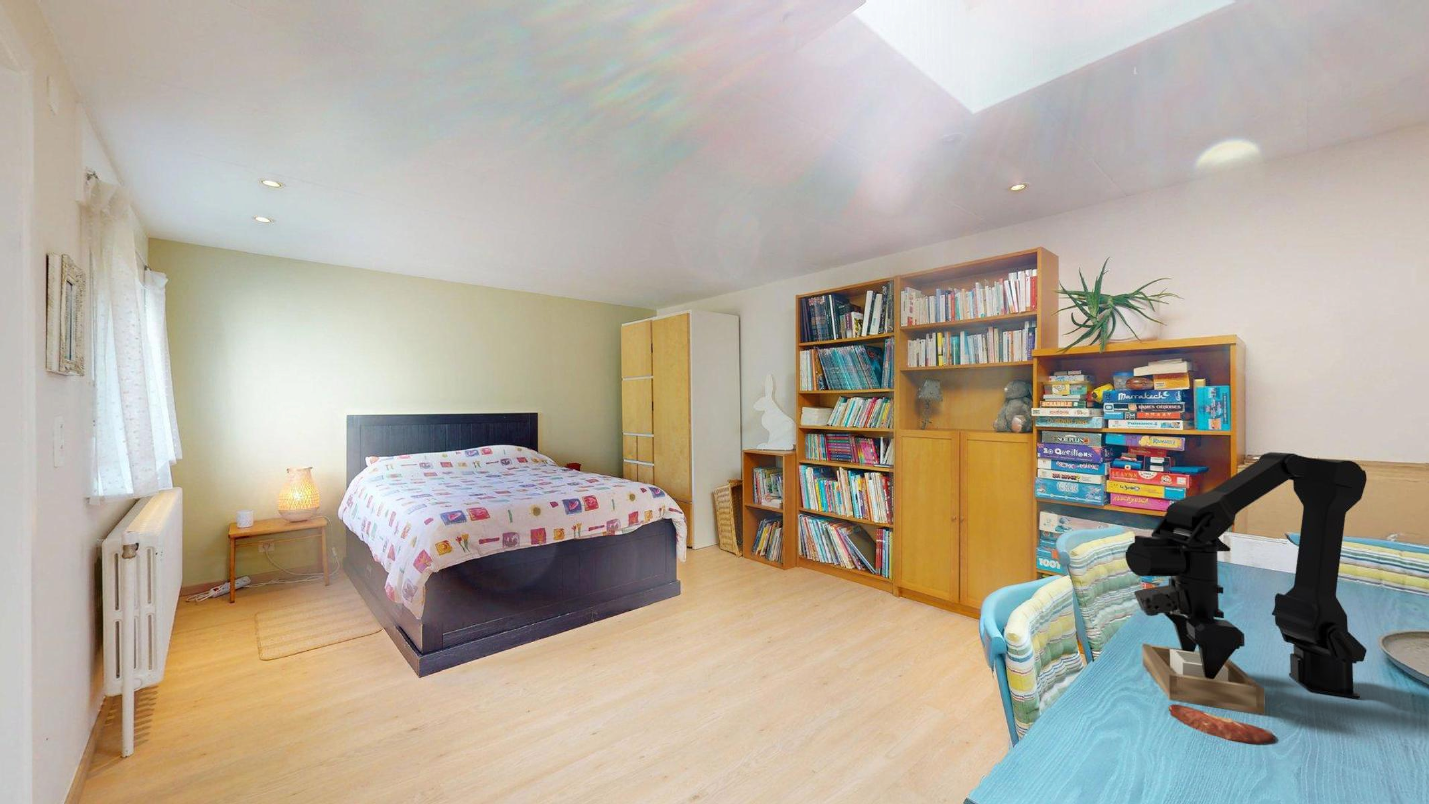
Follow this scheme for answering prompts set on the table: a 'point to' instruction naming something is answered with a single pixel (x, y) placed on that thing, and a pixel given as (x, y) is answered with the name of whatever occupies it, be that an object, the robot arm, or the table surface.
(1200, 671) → the cream crate
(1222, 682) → the walnut crate
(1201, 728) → the steak
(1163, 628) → the table surface
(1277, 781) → the table surface
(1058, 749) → the table surface
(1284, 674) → the table surface
